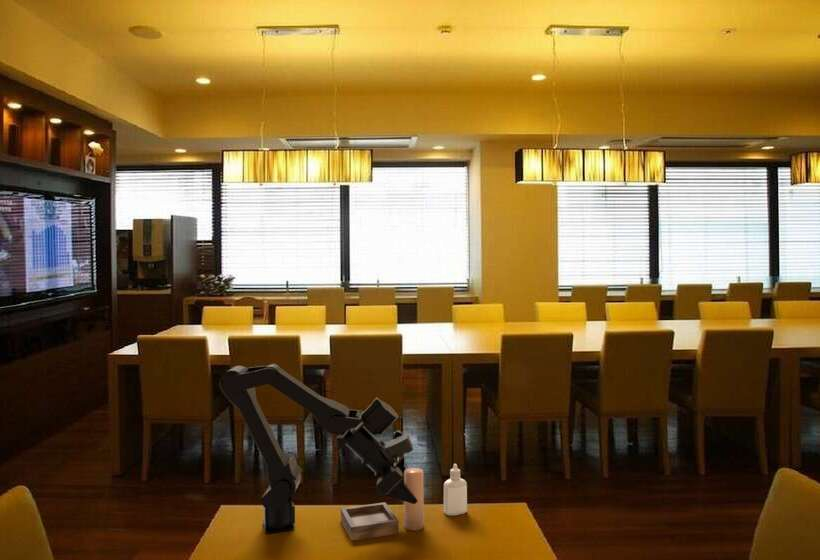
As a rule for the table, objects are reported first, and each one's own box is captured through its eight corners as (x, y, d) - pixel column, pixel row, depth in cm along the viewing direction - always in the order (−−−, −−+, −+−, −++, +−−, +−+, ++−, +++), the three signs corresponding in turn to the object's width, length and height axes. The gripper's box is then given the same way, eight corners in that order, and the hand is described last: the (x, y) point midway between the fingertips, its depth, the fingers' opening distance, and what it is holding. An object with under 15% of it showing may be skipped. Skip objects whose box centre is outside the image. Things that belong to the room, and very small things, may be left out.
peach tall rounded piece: (407, 531, 145) (407, 475, 144) (402, 523, 149) (401, 469, 148) (426, 528, 146) (425, 473, 146) (419, 521, 150) (419, 467, 150)
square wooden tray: (351, 540, 140) (351, 527, 140) (340, 520, 151) (340, 508, 151) (398, 533, 144) (398, 520, 144) (385, 514, 154) (385, 502, 154)
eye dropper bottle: (466, 517, 153) (466, 467, 152) (443, 515, 153) (442, 466, 153) (467, 509, 157) (467, 461, 156) (444, 508, 158) (444, 460, 157)
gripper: (391, 435, 137) (442, 485, 138) (393, 413, 156) (438, 457, 156) (355, 471, 138) (406, 521, 138) (361, 445, 156) (406, 489, 157)
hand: (416, 494), depth 147 cm, fingers open, 9 cm apart
